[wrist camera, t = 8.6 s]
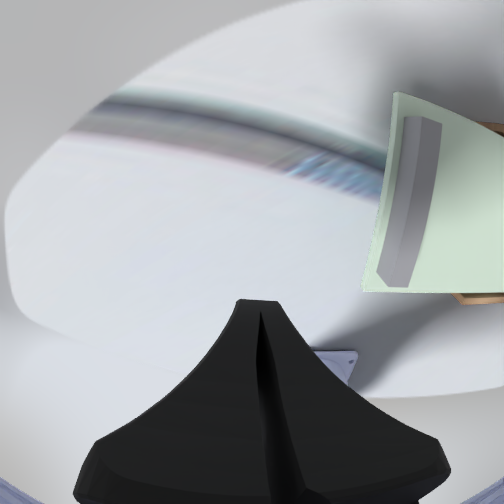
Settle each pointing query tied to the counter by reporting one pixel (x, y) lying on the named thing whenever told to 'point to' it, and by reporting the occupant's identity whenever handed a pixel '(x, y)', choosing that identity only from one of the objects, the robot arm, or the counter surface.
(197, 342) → the counter surface
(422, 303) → the counter surface
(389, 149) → the lid
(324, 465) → the robot arm
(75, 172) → the counter surface
